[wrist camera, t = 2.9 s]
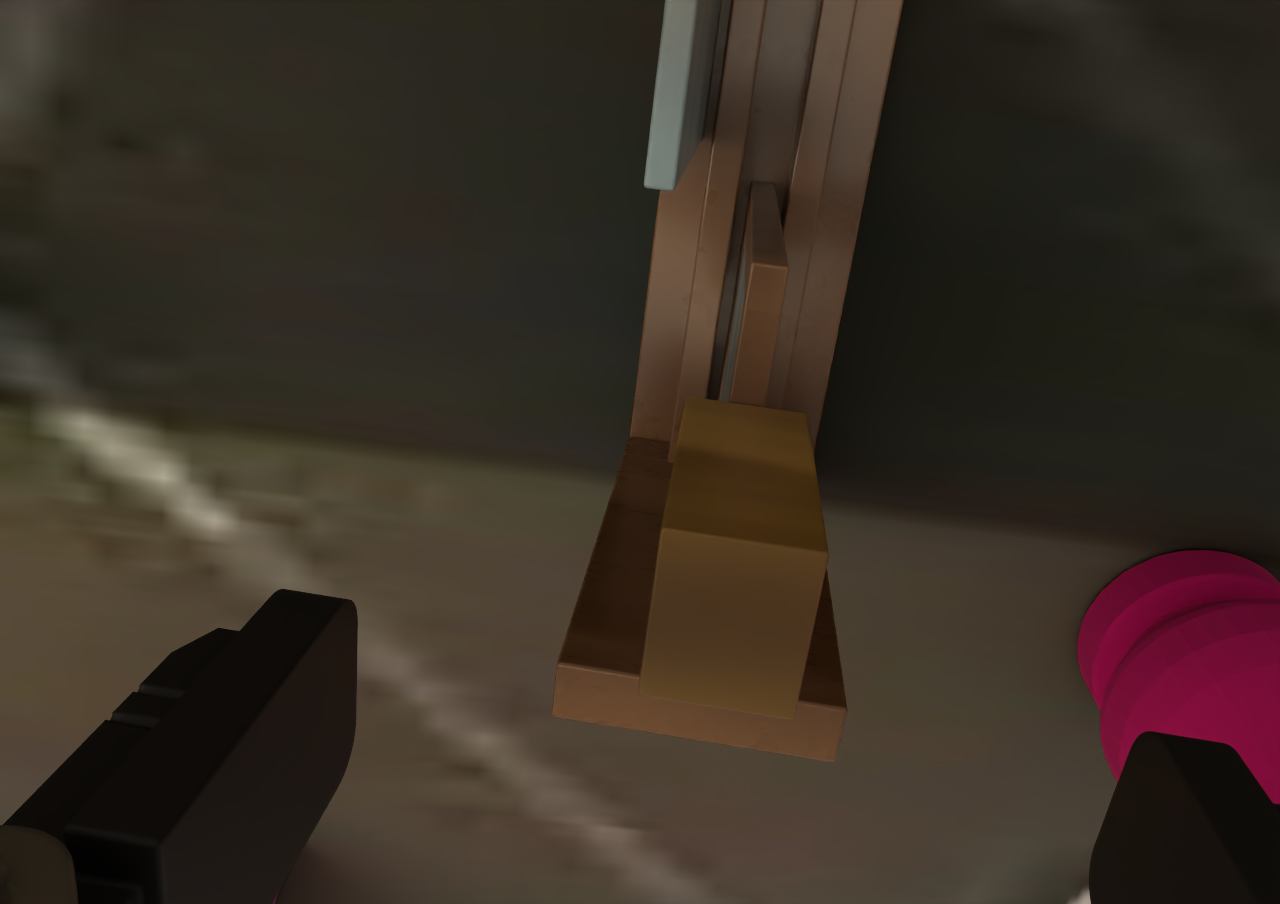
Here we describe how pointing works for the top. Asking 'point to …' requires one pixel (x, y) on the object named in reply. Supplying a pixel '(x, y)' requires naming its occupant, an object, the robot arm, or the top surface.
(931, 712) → the top surface
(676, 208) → the window frame
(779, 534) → the sash
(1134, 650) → the pepper mill
